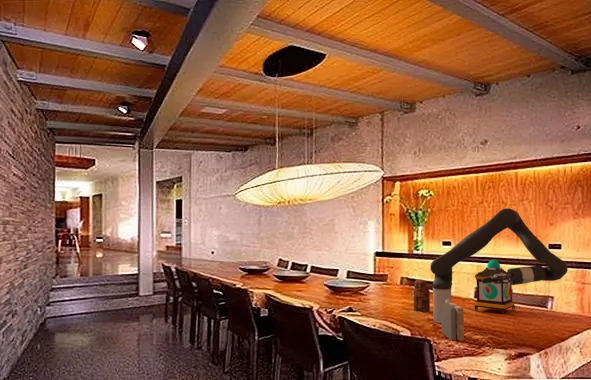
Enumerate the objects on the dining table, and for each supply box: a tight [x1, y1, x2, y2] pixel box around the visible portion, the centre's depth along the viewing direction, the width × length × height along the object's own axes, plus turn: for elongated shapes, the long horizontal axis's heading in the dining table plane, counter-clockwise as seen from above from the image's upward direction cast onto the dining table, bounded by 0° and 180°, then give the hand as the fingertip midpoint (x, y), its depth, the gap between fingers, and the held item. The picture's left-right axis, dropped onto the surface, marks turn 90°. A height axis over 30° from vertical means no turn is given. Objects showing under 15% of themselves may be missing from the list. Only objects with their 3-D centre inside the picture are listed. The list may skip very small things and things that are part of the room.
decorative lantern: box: [474, 259, 516, 316], centre depth 278 cm, size 20×20×30 cm
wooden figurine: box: [413, 279, 431, 313], centre depth 278 cm, size 12×6×18 cm, turn 33°
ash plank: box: [447, 301, 465, 342], centre depth 215 cm, size 16×2×14 cm, turn 179°
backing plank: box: [441, 299, 457, 341], centre depth 218 cm, size 17×5×15 cm, turn 0°
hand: (482, 281), depth 217 cm, fingers closed
